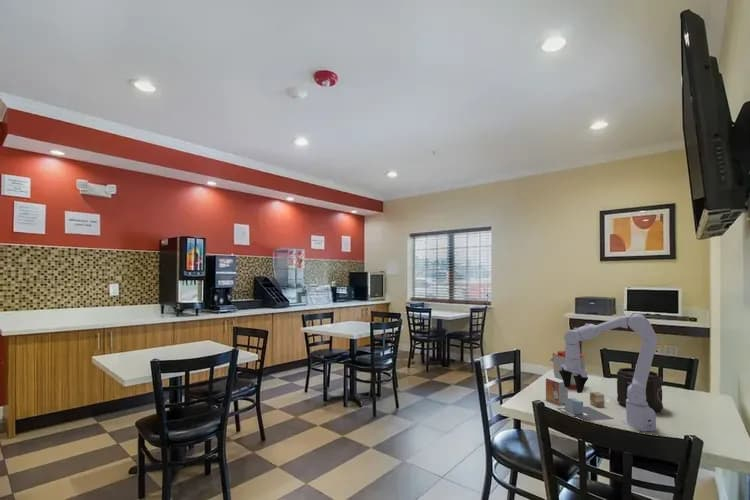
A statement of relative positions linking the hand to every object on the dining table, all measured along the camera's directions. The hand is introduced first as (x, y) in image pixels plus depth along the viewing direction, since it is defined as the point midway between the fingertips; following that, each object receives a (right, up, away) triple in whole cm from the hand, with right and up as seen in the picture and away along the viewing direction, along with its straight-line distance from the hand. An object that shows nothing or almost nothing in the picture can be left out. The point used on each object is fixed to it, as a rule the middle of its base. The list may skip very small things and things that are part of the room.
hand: (573, 389), depth 165 cm
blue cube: (0, -9, 0) cm, 9 cm away
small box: (-1, -11, +14) cm, 17 cm away
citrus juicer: (+18, -13, +41) cm, 47 cm away
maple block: (+15, -11, +8) cm, 20 cm away
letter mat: (+4, -10, -2) cm, 11 cm away
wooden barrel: (+35, -11, +9) cm, 38 cm away
